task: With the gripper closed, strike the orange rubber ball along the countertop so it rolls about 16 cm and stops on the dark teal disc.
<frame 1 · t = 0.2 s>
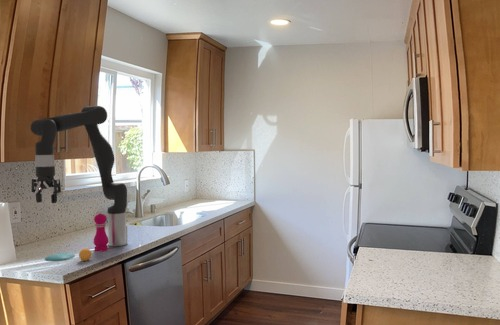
hand: (46, 202, 179), 29 cm above the worktop, tool pointing down, fingers open, 8 cm apart
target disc: (60, 257, 197), on the worktop
pepper mill: (101, 250, 210), on the worktop
ball: (85, 254, 190), on the worktop
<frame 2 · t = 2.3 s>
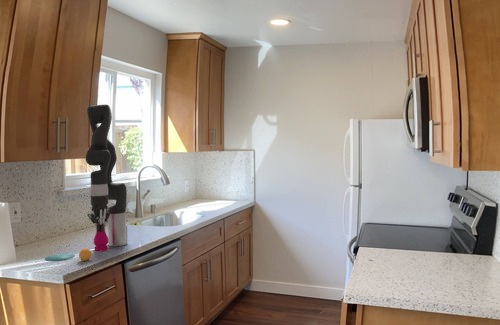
hand: (100, 232, 186), 14 cm above the worktop, tool pointing down, fingers closed
nothing on the worktop moved.
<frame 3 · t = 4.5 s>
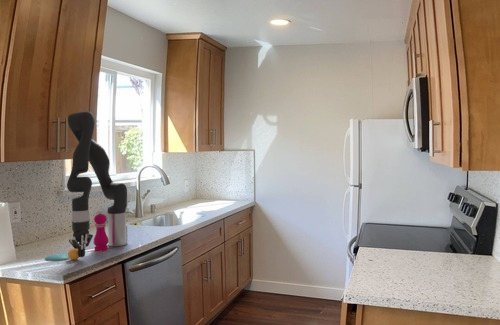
hand: (81, 256, 191), 2 cm above the worktop, tool pointing down, fingers closed
ball: (74, 253, 192), on the worktop
everything else where it was.
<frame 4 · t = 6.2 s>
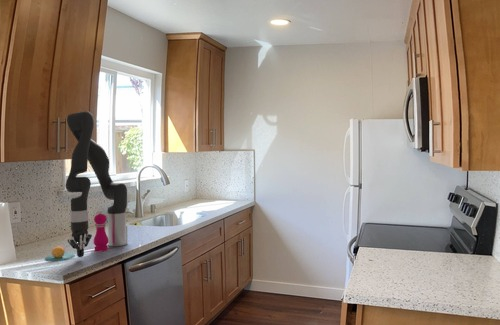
hand: (80, 256, 191), 1 cm above the worktop, tool pointing down, fingers closed
ball: (58, 252, 195), on the worktop
everything else where it was.
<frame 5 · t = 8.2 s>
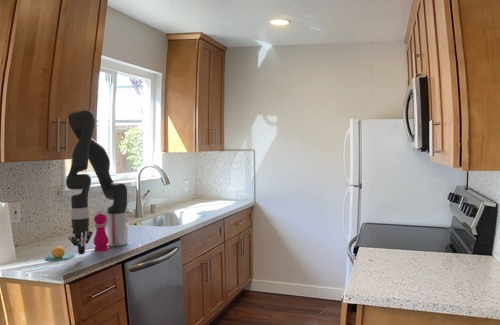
hand: (81, 253, 192), 3 cm above the worktop, tool pointing down, fingers closed
nothing on the worktop moved.
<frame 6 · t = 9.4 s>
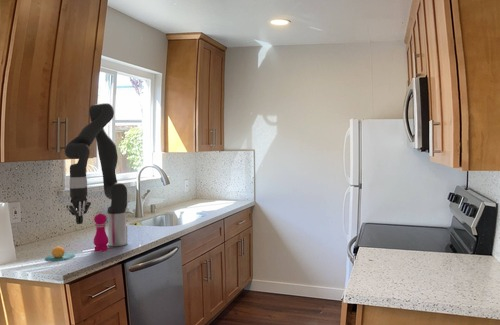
hand: (79, 223, 191), 17 cm above the worktop, tool pointing down, fingers closed
nothing on the worktop moved.
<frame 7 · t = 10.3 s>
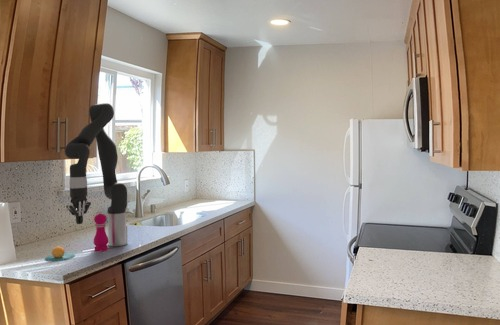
hand: (79, 223, 191), 17 cm above the worktop, tool pointing down, fingers closed
nothing on the worktop moved.
at the end: ball 1.2 cm from the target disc (horizontally); ball at rest at the end (0.0 cm/s); ball moved 15.8 cm from its start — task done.
